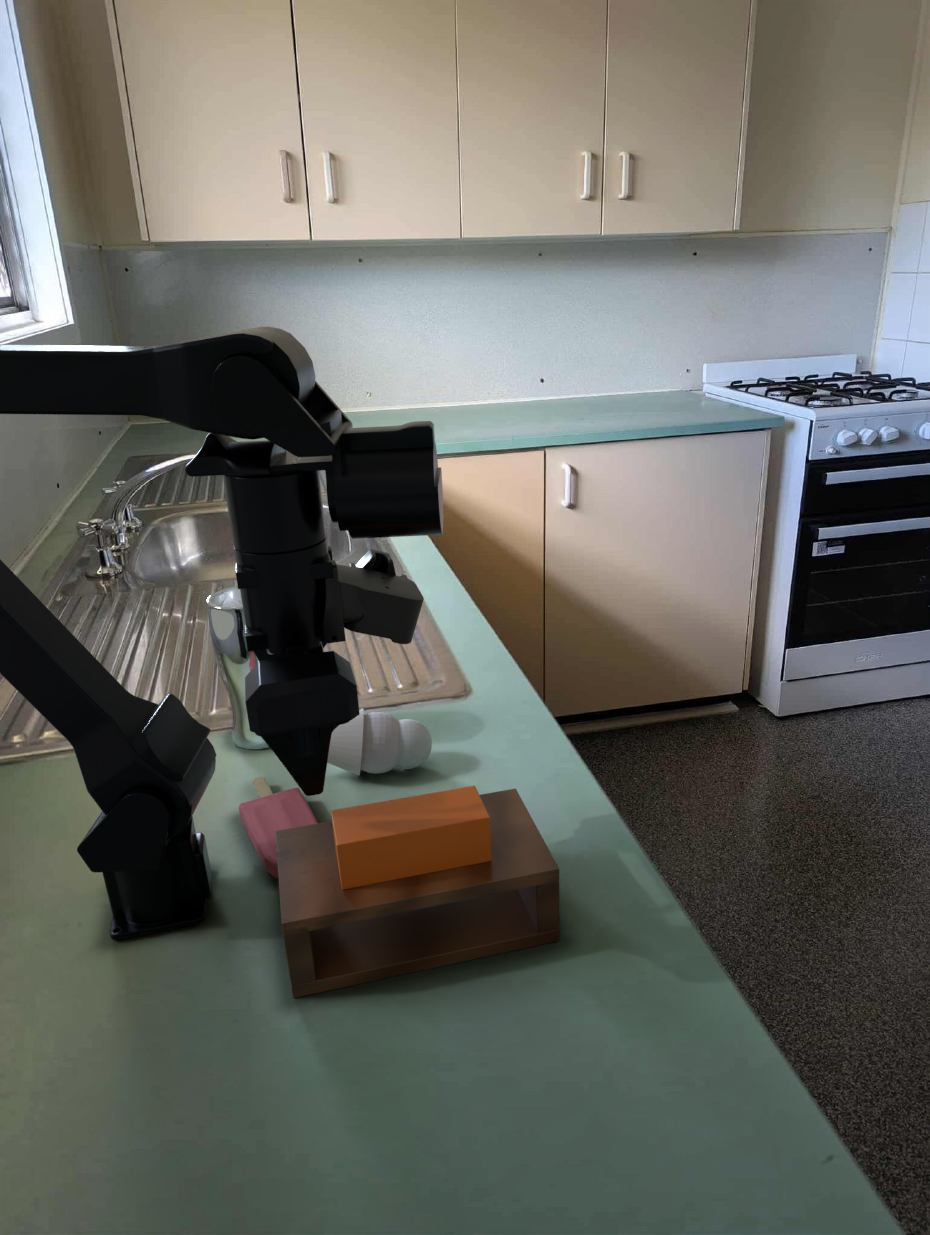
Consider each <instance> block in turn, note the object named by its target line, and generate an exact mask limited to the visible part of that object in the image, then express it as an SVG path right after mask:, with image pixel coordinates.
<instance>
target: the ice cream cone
mask: <svg viewBox="0 0 930 1235" xmlns="http://www.w3.org/2000/svg"><path fill="white" fill-rule="evenodd" d="M359 713H360V714H359V715H358V716H357V717H355V718H354V719H352V720H350V721H349V722H348V723H345V724H342V725H339V726H338V727H337V728H336V729H334V731H333V732H332V735H331V741H330V747H329V754H328V761H327V764H329V765H331V766H334V767H337V768H339V769H341V770H344V771H346V772H349V773H351V774H354V775H356V776H360V774H361V771H363V772H366V773H369V774H373V775H377V774H383V773H388V772H389V771H391V770H393V769H395V768H398V769H401V770H411V769H415V768H418V767H420V766H421V765H422V764H424V763H425V762H426V761H427V760H428V758H429V756H430V754H431V752H432V748H433V741H432V736H431V733H430V731H429V730H428V728H427V727H426V726H425V725H424V724H423V723H422V722H420V721H418V720H415V719H411V718H402V719H397V717H395V716H394V715H392V714H390V713H386V712H382V711H372V712H369V713H365V712H364V708H359Z"/></svg>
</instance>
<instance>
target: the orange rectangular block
mask: <svg viewBox="0 0 930 1235" xmlns="http://www.w3.org/2000/svg"><path fill="white" fill-rule="evenodd" d="M479 795H480V793H479V791H478V789H477V787H476V785H469V786H463V787H458V788H452V789H447V790H440V791H435V792H430V793H422V794H418V795H412V796H407V797H401V798H394V799H389V800H383V801H378V802H377V801H376V802H372V803H365V804H360V805H355V806H349V807H344V808H338V809H332V810H330V816H331V817H330V818H331V821H332V825H333V833H334V841H335V849H336V856H337V862H338V868H339V874H340V880H341V886H342V890H344V889H349V888H355V887H360V886H365V885H370V884H375V883H380V882H386V881H391V880H396V879H401V878H406V877H411V876H417V875H422V874H427V873H432V872H437V871H442V870H448V869H453V868H458V867H463V866H468V865H474V864H479V863H484V862H489V861H491V860H492V857H491V835H490V817H489V815H488V813H487V811H486V808H485V806H484V804H483V802H482V800H481V798H480V796H479Z"/></svg>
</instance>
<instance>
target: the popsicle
mask: <svg viewBox="0 0 930 1235" xmlns="http://www.w3.org/2000/svg"><path fill="white" fill-rule="evenodd" d="M252 784H253V786H254V788H255V790H256V792H257V794H258V796H259V797H257V798H254V799H250V800H246V801H243V802H241V803H239V805H238V811H239V812H238V813H239V817H240V819H241V821H242V824H243V827H244V828H245V831H246V833H247V835H248V837H249V839H250V842H251V844H252V846H253V847H254V849H255V851H256V854H257V855H258V857H259V859H260V861H261V863H262V866H263V867H264V869H265V871H266V872H267V873H268V874H269V875H271V876H272V877H274V878H275V879H276V880H278V864H277V848H276V833H275V831H277V830H283V829H289V828H294V827H300V826H306V825H311V824H317V823H319V822H318V821H317V818H316V817H315V814H314V812H313V810H312V808H311V807H310V805H309V803H308V802H307V800H306V798H305V796H304V793H303V792H302V790H301V788H300V787H292V788H289V789H286V790H281V791H278V792H275V793H273V791H272V788H271V786H270V785H269V783H268V781H267V779H266V777H264V776H258V777H255V778H254V779H253V780H252Z"/></svg>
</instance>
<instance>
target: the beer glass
mask: <svg viewBox="0 0 930 1235" xmlns="http://www.w3.org/2000/svg"><path fill="white" fill-rule="evenodd" d="M206 604H207V612H208V613H207V615H208V616H207V617H208V627H209V628H208V629H209V635H210V643H211V647H212V648H211V649H212V652H213V657H214V660H215V663H216V666H217V669H218V672H219V674H220V677H221V680H222V682H223V686H224V688H225V691H226V693H227V697H228V699H229V703H230V707H231V714H232V723H231V724H232V726H231V739H232V742H233V743H234V744H235V745H236V746H237V747H239V748H241V749H245V750H264V749H271V748H270V747H269V746H268V745H267V743H266V742H265V741H264V740H263V739H262V737H261V736H257V735H256V734H255V733H254V732H251V731H250V728H249V721H248V715H247V709H246V703H245V677H246V676H247V674H248V673H249V672H250V671H251V670H252V668H253V667H254V666H255V665H256V664H257V663H258V661H259V660H258V658H257V657H256V655H255V653H254V651H248V649H247V643H246V636H245V625H246V624H245V618H244V611H243V605H242V598H241V592H240V589H238V585H234V586H230V587H226V588H222V589H220V590H217V591H215V592H213V593H212V594H210V595H209V596H208V597H207V599H206Z"/></svg>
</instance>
